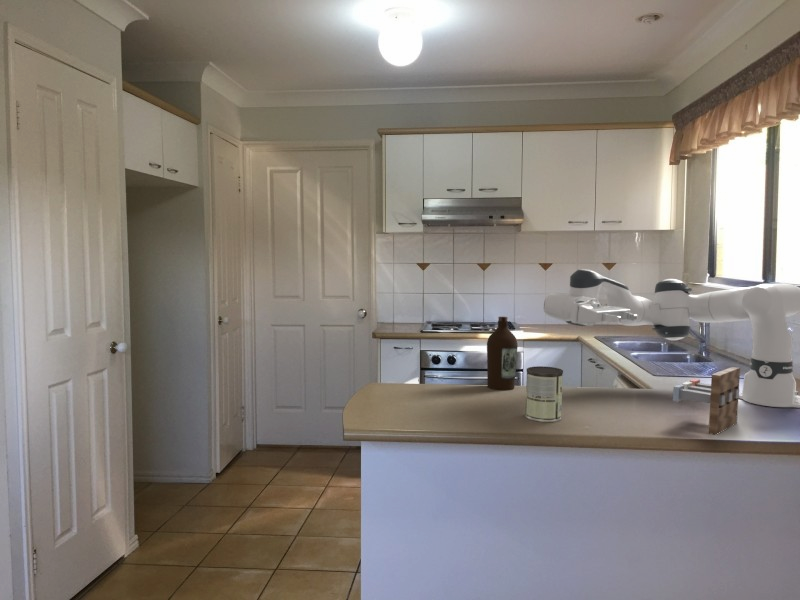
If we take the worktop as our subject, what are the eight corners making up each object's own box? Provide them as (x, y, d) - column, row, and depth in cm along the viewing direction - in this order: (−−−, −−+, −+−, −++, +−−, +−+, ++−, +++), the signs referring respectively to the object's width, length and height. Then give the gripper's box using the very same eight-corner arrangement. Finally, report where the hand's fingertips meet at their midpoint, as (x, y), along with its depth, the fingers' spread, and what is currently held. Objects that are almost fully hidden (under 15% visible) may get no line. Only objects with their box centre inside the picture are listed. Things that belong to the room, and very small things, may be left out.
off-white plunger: (686, 395, 184) (687, 381, 184) (732, 403, 175) (733, 388, 175) (681, 397, 181) (681, 383, 181) (727, 405, 173) (728, 390, 172)
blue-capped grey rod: (678, 398, 180) (679, 384, 180) (725, 406, 171) (726, 392, 171) (672, 400, 177) (673, 386, 177) (720, 409, 168) (721, 394, 168)
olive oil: (479, 386, 225) (481, 316, 223) (501, 383, 230) (503, 314, 228) (499, 392, 216) (502, 319, 214) (522, 388, 222) (524, 317, 220)
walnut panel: (729, 421, 182) (732, 366, 181) (736, 423, 181) (740, 367, 180) (708, 433, 170) (711, 374, 169) (716, 434, 169) (719, 375, 168)
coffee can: (521, 412, 189) (523, 366, 187) (555, 413, 189) (557, 366, 188) (529, 422, 178) (531, 372, 177) (565, 422, 179) (567, 373, 178)
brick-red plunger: (694, 392, 188) (694, 378, 188) (739, 399, 180) (740, 385, 179) (688, 394, 186) (689, 380, 185) (735, 401, 177) (735, 387, 176)
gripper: (605, 319, 207) (644, 327, 197) (568, 322, 194) (608, 331, 184) (607, 300, 207) (647, 307, 196) (570, 302, 193) (610, 309, 183)
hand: (628, 318), depth 190 cm, fingers open, 8 cm apart
